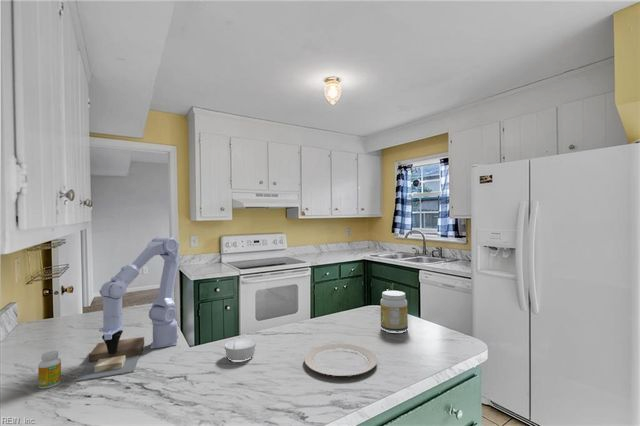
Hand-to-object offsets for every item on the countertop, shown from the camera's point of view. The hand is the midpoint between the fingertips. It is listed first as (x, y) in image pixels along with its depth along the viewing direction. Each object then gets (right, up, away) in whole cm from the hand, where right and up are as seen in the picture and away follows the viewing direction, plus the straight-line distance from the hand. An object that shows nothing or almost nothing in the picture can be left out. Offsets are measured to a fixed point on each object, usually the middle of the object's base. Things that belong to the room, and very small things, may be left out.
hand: (112, 353), depth 113 cm
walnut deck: (-4, -4, +9) cm, 11 cm away
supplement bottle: (-10, -4, -14) cm, 18 cm away
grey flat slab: (+1, -4, -3) cm, 5 cm away
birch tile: (+1, -1, -3) cm, 4 cm away
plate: (+82, -3, -1) cm, 82 cm away
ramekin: (+45, -4, +4) cm, 45 cm away
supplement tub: (+108, -3, +31) cm, 113 cm away
